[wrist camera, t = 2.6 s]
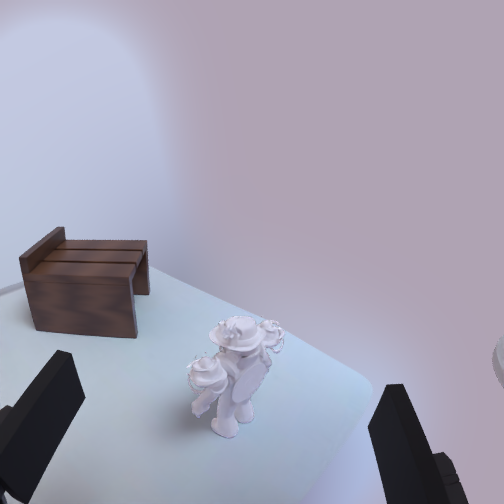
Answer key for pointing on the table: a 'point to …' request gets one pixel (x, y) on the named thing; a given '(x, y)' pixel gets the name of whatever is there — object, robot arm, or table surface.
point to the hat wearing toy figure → (234, 370)
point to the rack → (85, 284)
